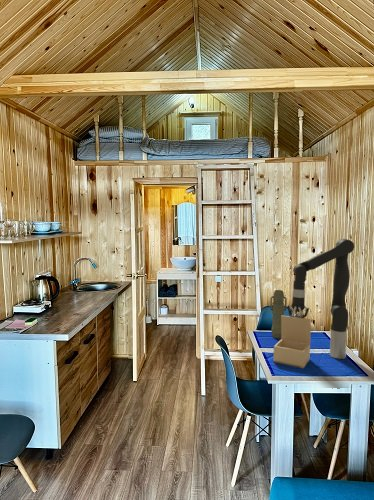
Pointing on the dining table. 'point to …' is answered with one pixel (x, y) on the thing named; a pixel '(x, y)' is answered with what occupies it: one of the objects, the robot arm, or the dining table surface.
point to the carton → (292, 353)
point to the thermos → (277, 312)
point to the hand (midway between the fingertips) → (297, 322)
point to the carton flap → (295, 329)
